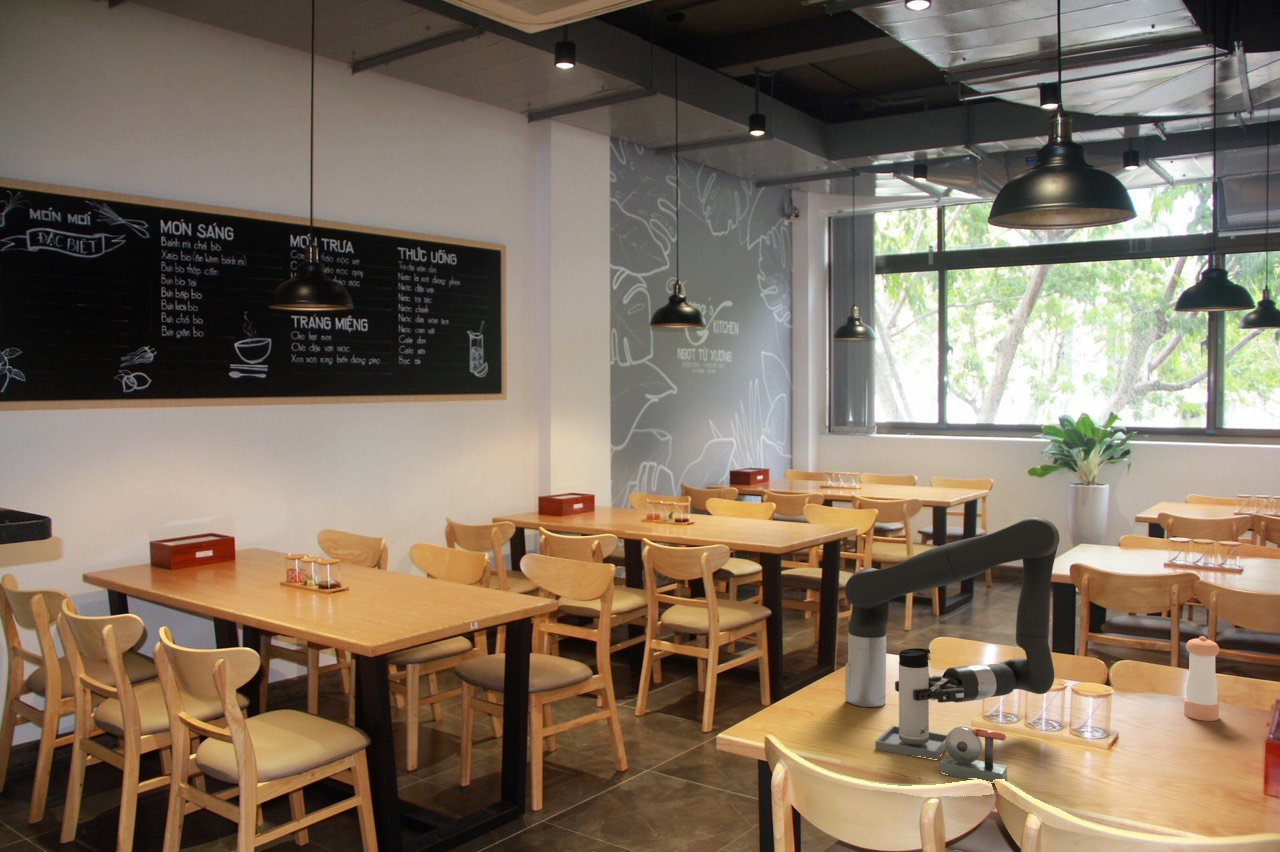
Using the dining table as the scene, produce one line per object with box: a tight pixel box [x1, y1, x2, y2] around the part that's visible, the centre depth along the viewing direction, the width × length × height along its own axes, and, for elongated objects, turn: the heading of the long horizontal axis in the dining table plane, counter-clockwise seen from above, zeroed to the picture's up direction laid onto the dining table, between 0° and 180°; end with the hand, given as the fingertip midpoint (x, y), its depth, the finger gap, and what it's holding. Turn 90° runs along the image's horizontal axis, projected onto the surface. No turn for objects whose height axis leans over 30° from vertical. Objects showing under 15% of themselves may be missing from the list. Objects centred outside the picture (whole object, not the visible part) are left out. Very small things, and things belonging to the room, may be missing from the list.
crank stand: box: [939, 726, 1008, 782], centre depth 201 cm, size 12×5×10 cm, turn 59°
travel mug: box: [898, 647, 931, 745], centre depth 217 cm, size 6×7×20 cm
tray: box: [874, 724, 948, 760], centre depth 217 cm, size 13×12×2 cm
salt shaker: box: [1183, 635, 1220, 722], centre depth 238 cm, size 7×7×19 cm
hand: (905, 691), depth 216 cm, fingers closed on travel mug, 6 cm apart
